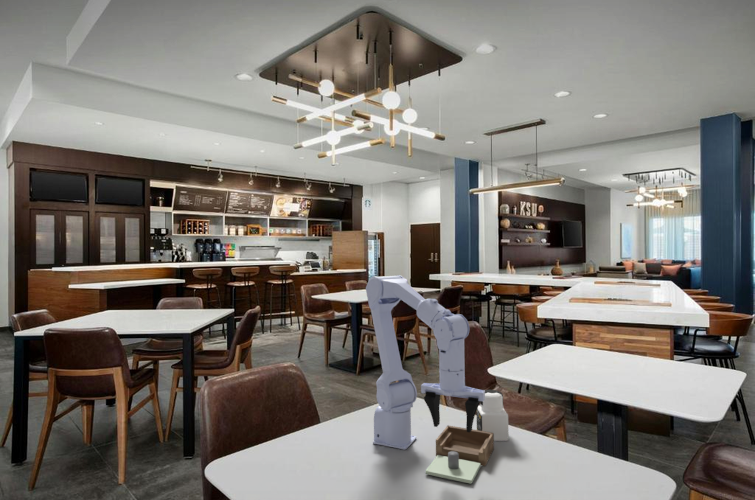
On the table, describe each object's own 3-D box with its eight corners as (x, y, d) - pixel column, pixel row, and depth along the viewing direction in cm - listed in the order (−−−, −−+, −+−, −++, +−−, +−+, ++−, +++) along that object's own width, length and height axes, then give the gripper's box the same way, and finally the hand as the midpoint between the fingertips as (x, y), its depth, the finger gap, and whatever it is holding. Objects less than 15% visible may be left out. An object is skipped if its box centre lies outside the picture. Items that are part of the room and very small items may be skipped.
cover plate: (437, 457, 107) (437, 442, 107) (480, 466, 102) (480, 450, 102) (425, 473, 99) (425, 457, 99) (471, 483, 95) (471, 466, 95)
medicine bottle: (476, 430, 124) (475, 387, 124) (502, 430, 124) (501, 387, 124) (481, 441, 117) (480, 396, 117) (509, 441, 116) (508, 395, 117)
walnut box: (447, 440, 117) (447, 425, 117) (493, 449, 112) (493, 432, 112) (435, 456, 108) (435, 439, 108) (485, 466, 103) (484, 448, 103)
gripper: (415, 369, 101) (416, 429, 101) (479, 376, 94) (480, 440, 94) (426, 362, 107) (427, 418, 107) (486, 368, 101) (487, 428, 101)
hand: (452, 427), depth 101 cm, fingers open, 7 cm apart
